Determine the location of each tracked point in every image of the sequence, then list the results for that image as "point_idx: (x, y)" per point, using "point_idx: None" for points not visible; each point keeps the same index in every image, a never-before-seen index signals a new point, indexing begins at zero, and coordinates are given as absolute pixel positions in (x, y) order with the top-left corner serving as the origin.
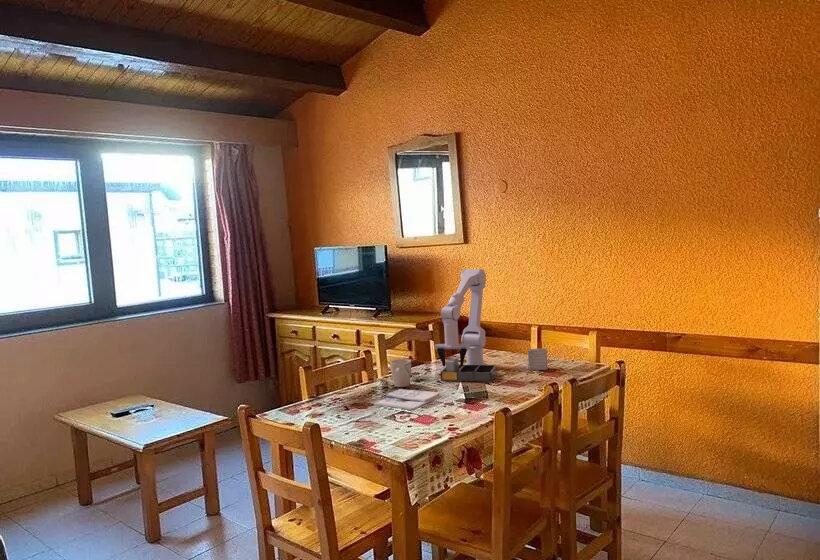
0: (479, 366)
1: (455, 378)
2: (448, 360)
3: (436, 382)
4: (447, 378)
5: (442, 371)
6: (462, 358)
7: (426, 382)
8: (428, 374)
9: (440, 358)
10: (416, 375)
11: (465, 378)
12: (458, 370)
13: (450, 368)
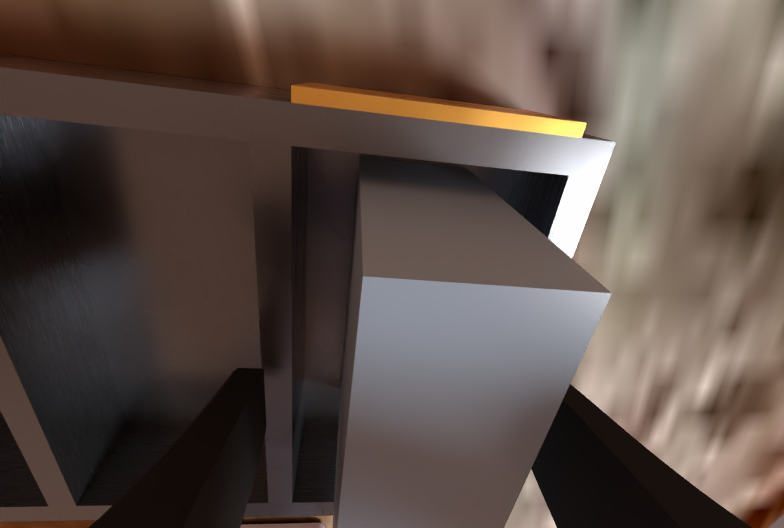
0: (28, 462)
1: (328, 84)
2: (521, 424)
3: (606, 43)
4: (458, 101)
5: (574, 185)
6: (113, 519)
7: (740, 51)
8: (636, 383)
9: (716, 504)
10: (751, 352)
11: (152, 75)
12: (284, 247)
13: (434, 207)
